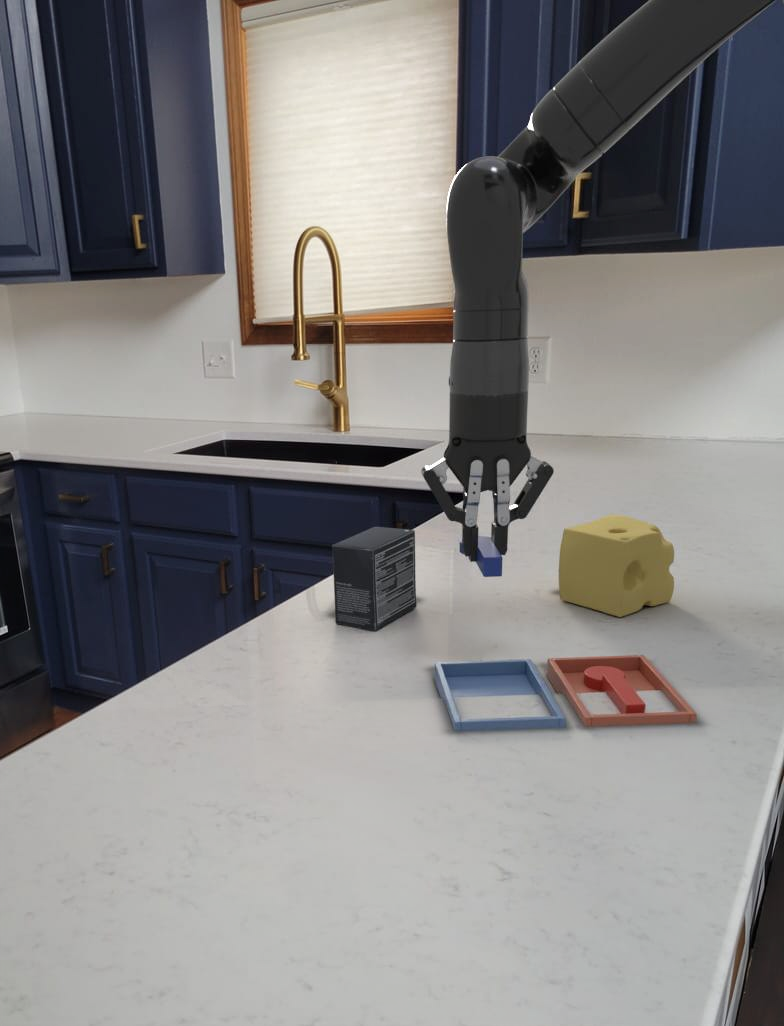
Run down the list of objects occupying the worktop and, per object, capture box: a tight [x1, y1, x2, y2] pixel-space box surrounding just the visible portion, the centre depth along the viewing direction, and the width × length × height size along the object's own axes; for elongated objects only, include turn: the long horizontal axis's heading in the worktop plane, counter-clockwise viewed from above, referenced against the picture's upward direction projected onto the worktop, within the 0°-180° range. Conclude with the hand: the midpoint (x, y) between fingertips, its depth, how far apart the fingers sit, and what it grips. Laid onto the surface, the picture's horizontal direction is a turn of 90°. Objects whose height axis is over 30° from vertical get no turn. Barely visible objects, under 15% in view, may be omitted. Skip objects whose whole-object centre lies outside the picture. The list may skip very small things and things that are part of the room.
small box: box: [331, 526, 417, 632], centre depth 121 cm, size 11×6×10 cm, turn 145°
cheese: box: [558, 513, 675, 618], centre depth 123 cm, size 10×11×10 cm
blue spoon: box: [459, 535, 503, 578], centre depth 99 cm, size 12×4×2 cm, turn 179°
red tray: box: [546, 654, 697, 727], centre depth 95 cm, size 10×15×2 cm
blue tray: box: [434, 658, 567, 732], centre depth 95 cm, size 10×15×2 cm
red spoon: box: [584, 666, 646, 714], centre depth 95 cm, size 12×4×2 cm, turn 0°
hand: (484, 558), depth 99 cm, fingers closed on blue spoon, 2 cm apart
